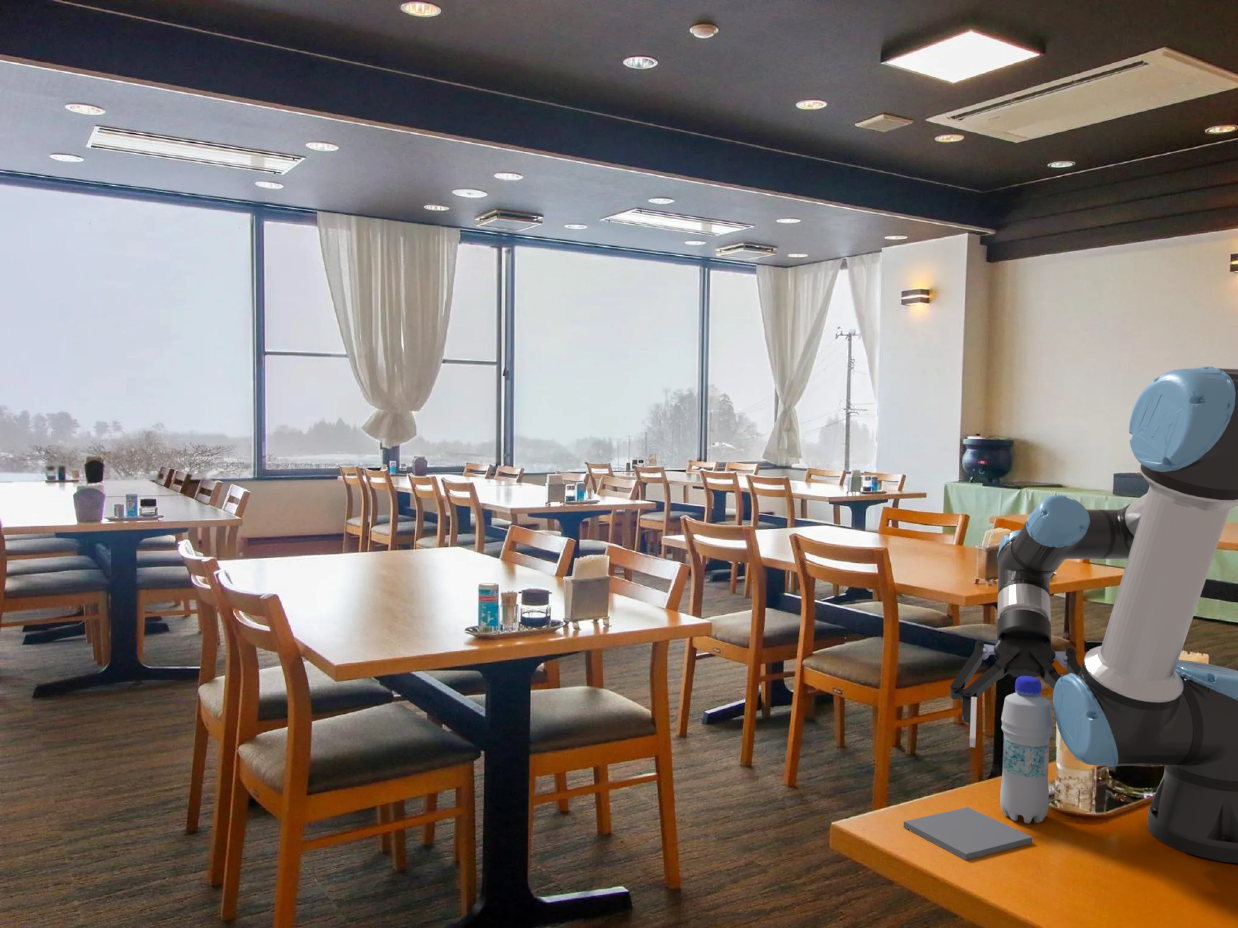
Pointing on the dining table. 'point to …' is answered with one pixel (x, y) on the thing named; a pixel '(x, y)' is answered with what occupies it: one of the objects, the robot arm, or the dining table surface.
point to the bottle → (1026, 751)
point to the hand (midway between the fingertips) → (1024, 749)
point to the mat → (967, 833)
